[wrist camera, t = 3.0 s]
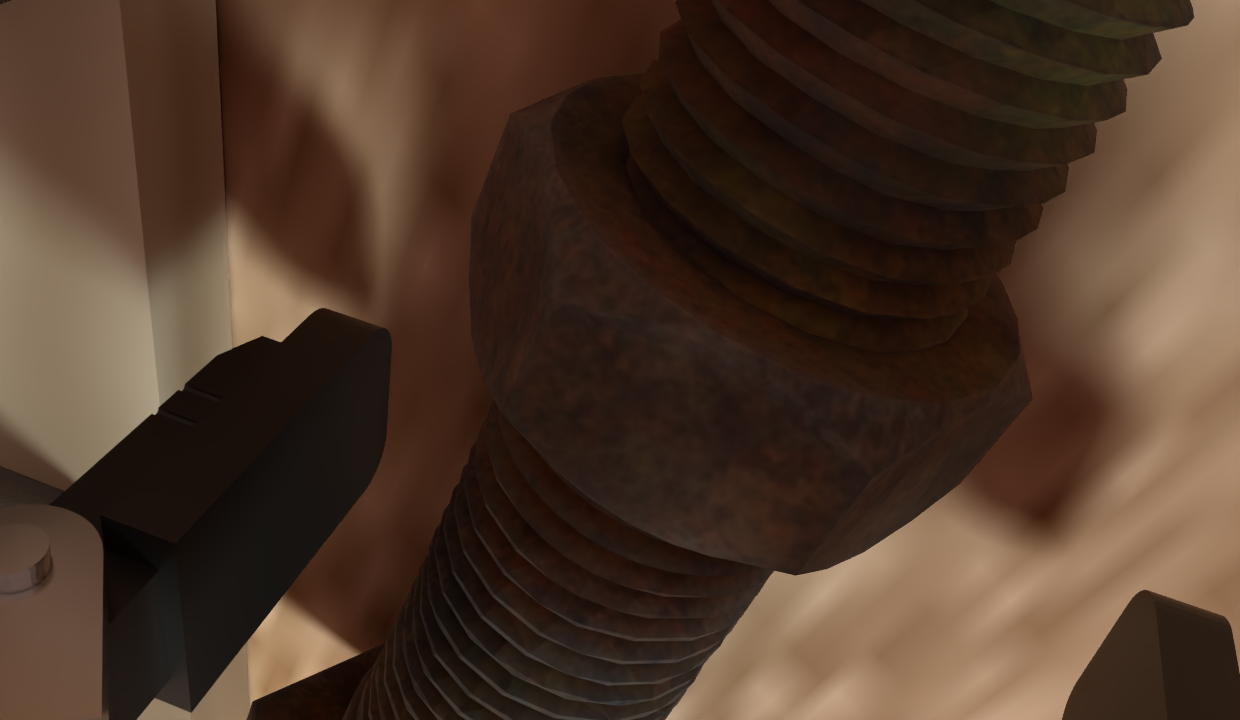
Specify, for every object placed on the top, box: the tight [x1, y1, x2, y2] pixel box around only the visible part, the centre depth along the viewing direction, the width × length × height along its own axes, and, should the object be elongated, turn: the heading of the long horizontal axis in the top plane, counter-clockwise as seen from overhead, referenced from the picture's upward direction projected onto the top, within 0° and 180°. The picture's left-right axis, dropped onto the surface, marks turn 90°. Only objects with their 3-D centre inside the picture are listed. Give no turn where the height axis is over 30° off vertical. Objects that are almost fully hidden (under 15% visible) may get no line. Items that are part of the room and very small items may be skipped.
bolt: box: [247, 0, 1194, 720], centre depth 11 cm, size 6×5×15 cm
